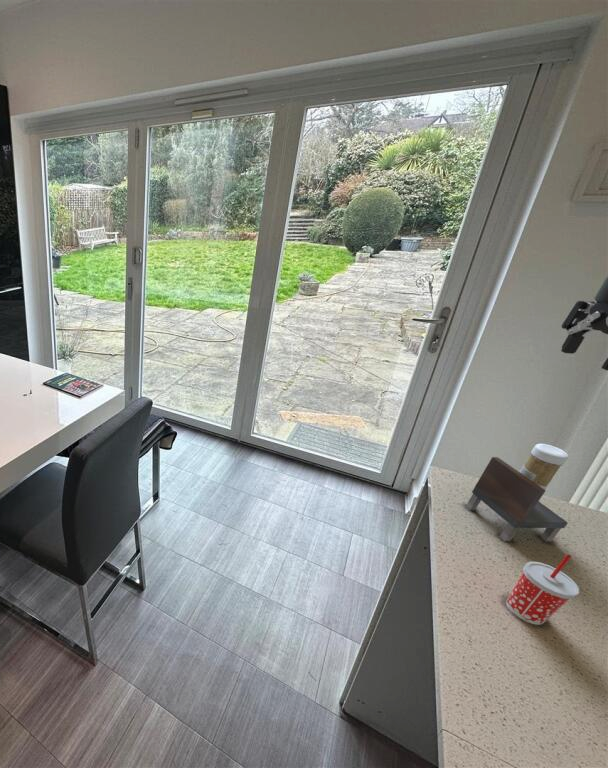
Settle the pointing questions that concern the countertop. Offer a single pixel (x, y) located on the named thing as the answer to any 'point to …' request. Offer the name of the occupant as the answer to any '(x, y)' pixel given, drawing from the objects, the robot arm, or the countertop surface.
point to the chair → (514, 500)
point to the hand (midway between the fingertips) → (586, 360)
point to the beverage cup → (541, 592)
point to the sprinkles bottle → (543, 464)
